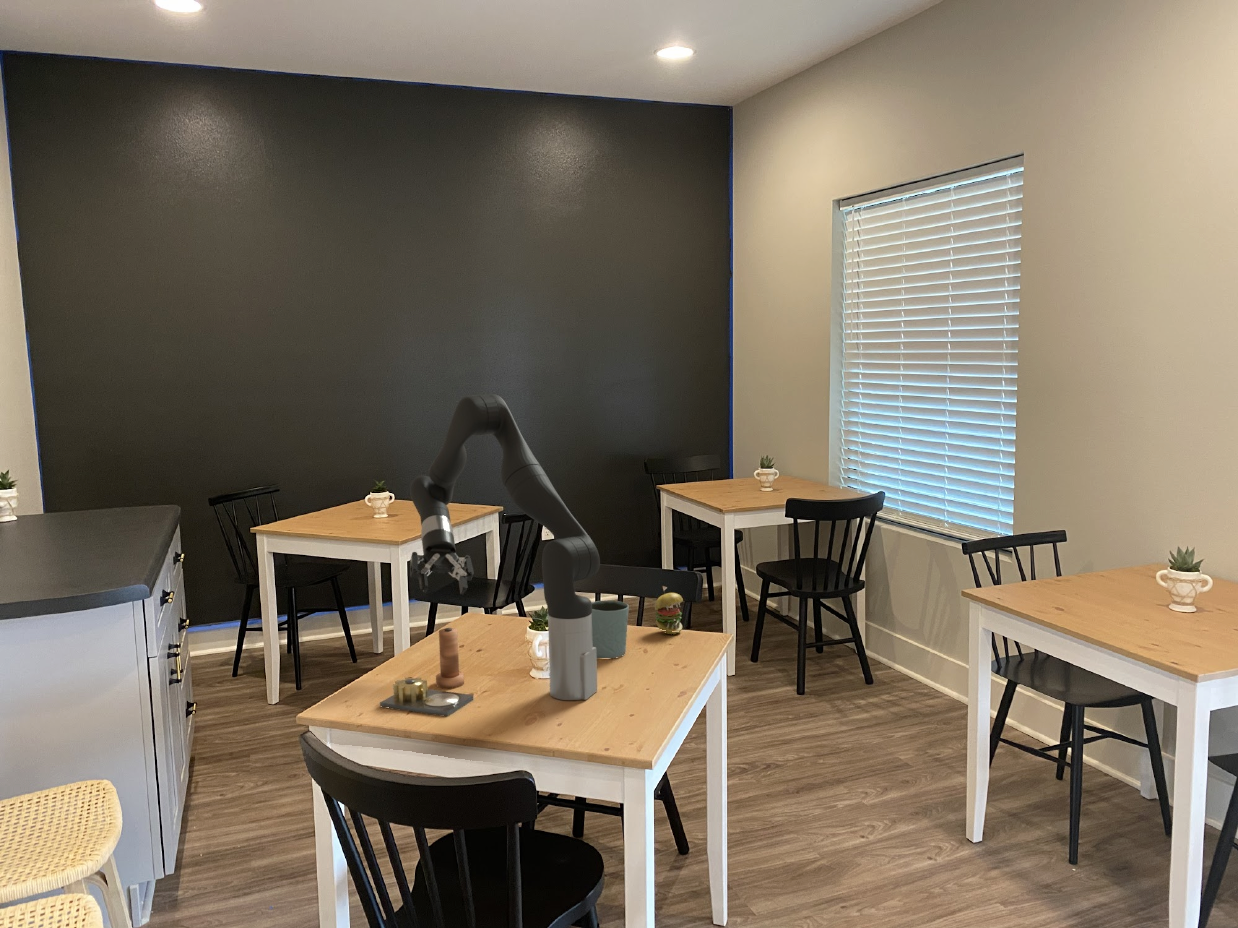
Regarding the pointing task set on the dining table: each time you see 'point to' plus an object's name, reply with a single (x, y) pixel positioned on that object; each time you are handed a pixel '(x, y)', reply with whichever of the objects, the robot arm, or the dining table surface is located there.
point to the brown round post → (449, 660)
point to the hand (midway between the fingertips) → (444, 590)
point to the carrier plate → (432, 703)
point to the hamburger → (668, 612)
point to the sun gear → (410, 689)
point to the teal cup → (609, 628)
